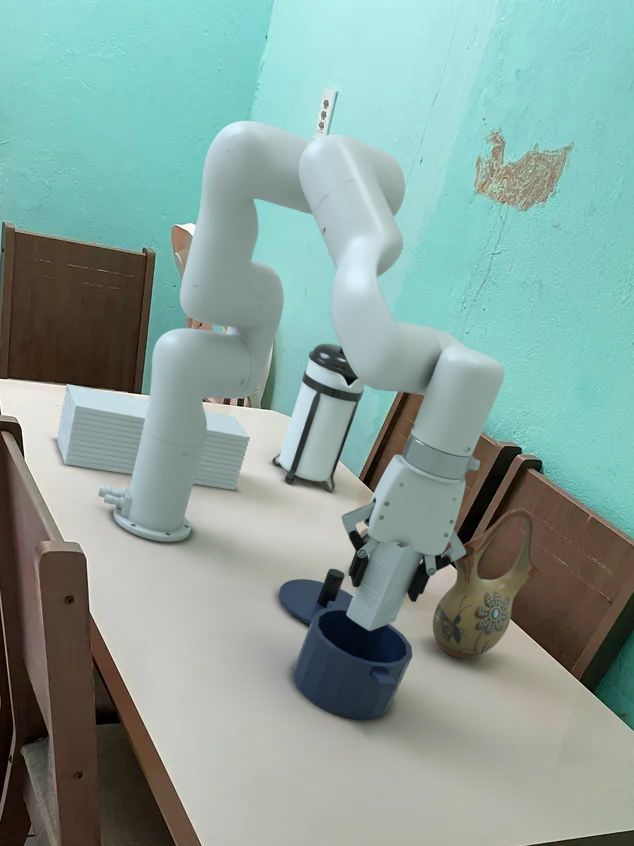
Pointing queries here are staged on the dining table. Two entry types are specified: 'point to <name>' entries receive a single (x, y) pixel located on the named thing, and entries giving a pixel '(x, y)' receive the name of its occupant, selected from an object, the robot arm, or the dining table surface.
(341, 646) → the pot
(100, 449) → the white ridged box
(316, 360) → the coffee press
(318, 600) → the lid
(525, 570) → the ceramic vessel
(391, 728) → the dining table surface
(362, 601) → the cosmetic box
